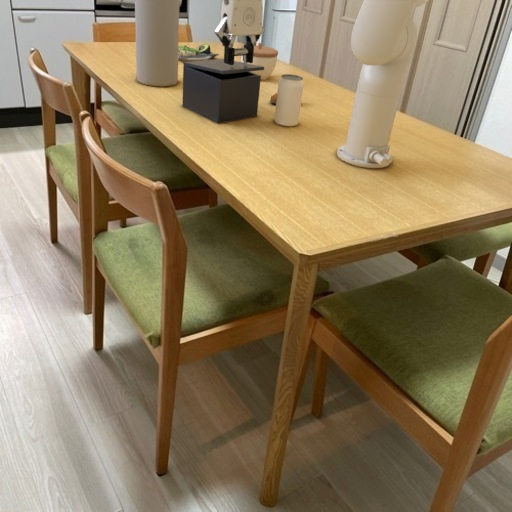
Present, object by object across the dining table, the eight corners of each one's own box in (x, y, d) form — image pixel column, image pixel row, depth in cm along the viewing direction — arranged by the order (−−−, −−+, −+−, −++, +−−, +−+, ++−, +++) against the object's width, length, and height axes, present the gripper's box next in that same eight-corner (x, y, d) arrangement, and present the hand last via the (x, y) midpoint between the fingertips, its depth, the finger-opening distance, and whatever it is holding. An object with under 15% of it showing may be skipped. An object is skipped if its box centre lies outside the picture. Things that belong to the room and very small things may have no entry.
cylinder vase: (129, 83, 156) (126, -10, 143) (146, 74, 167) (145, -13, 153) (168, 89, 154) (169, -4, 141) (183, 80, 165) (185, -7, 151)
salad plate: (200, 67, 183) (201, 53, 180) (155, 58, 187) (155, 44, 184) (222, 58, 198) (222, 45, 196) (180, 50, 203) (180, 37, 200)
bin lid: (264, 70, 134) (265, 47, 131) (223, 74, 125) (223, 50, 123) (223, 61, 144) (223, 40, 142) (183, 65, 136) (182, 43, 133)
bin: (257, 116, 141) (261, 75, 135) (218, 123, 133) (220, 80, 127) (220, 100, 150) (223, 61, 144) (182, 106, 142) (183, 65, 136)
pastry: (279, 108, 149) (280, 95, 147) (264, 101, 154) (265, 88, 152) (302, 105, 155) (304, 92, 153) (287, 99, 159) (289, 86, 157)
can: (269, 122, 137) (275, 76, 131) (280, 117, 142) (286, 72, 136) (291, 128, 135) (298, 81, 129) (301, 123, 140) (308, 77, 134)
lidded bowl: (280, 82, 176) (285, 47, 170) (246, 82, 171) (249, 46, 165) (266, 72, 186) (270, 39, 180) (233, 72, 181) (235, 38, 175)
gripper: (225, -17, 113) (221, 69, 123) (280, -16, 124) (273, 63, 133) (204, -21, 118) (202, 62, 127) (259, -19, 128) (253, 57, 138)
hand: (238, 62), depth 130 cm, fingers closed on bin lid, 5 cm apart
